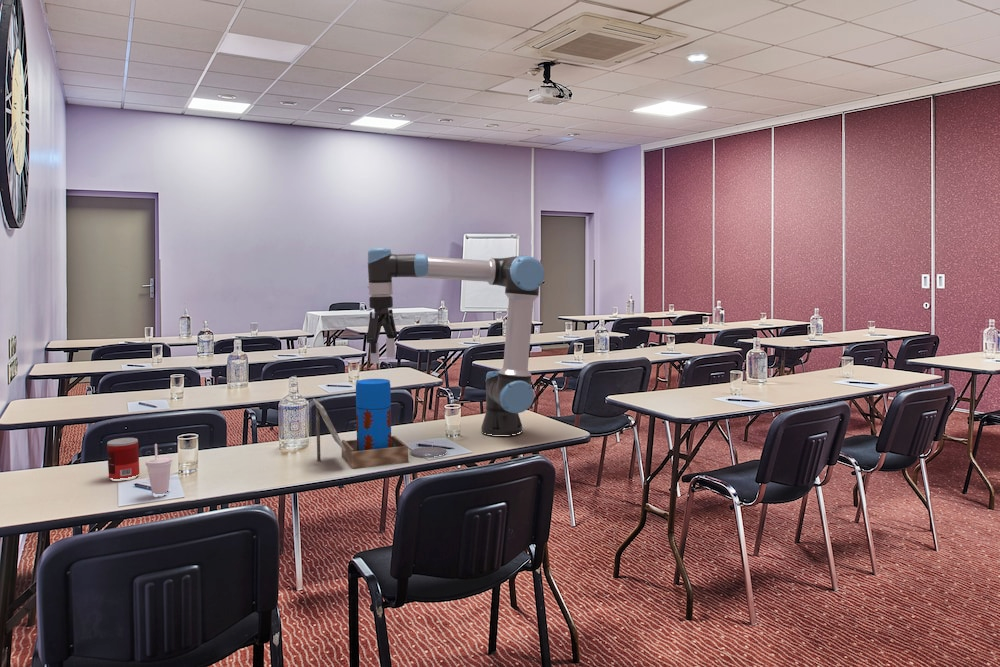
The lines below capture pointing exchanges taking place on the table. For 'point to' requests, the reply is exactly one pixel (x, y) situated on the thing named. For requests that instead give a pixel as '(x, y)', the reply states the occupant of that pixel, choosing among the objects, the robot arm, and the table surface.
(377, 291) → the robot arm
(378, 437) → the thermos
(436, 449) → the disc
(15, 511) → the table surface
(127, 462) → the canned food
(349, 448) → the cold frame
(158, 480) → the smoothie
